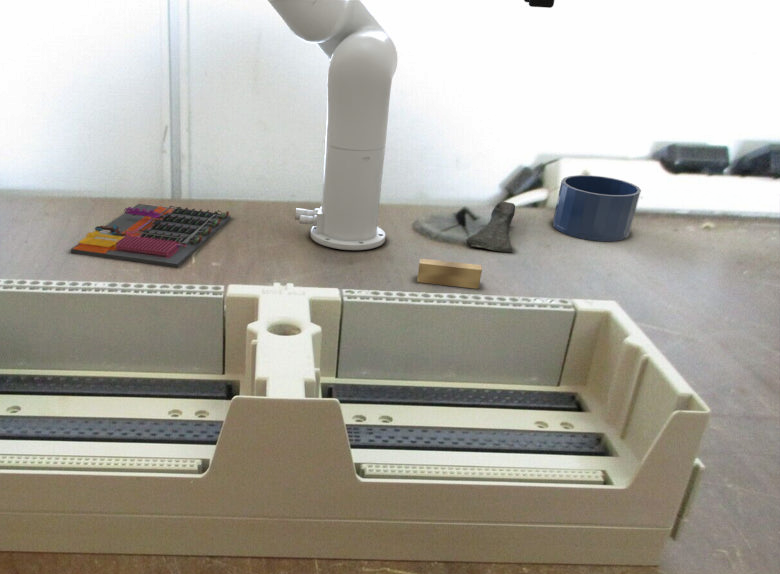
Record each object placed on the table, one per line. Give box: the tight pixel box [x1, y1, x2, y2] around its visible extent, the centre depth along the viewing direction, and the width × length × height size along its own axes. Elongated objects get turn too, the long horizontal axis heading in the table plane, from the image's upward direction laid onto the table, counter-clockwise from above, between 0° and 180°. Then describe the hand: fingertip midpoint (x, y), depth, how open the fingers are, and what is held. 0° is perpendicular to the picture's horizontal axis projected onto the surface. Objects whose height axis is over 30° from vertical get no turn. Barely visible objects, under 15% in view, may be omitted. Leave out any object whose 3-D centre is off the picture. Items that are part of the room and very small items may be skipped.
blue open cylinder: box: [552, 174, 642, 242], centre depth 137 cm, size 13×13×8 cm
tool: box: [465, 201, 516, 253], centre depth 134 cm, size 21×8×3 cm, turn 160°
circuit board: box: [70, 203, 231, 268], centre depth 126 cm, size 25×18×3 cm
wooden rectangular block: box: [416, 258, 483, 290], centre depth 113 cm, size 9×2×3 cm, turn 79°
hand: (537, 4), depth 107 cm, fingers open, 9 cm apart
